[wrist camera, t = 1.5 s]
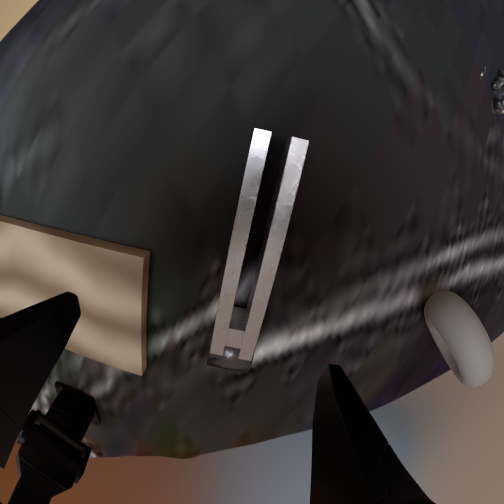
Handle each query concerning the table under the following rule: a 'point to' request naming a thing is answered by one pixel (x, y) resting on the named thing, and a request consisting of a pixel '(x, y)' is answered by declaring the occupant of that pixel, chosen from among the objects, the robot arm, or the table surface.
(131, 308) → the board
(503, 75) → the blueberries
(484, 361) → the donut
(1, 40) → the table surface
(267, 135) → the tongs
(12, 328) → the robot arm
